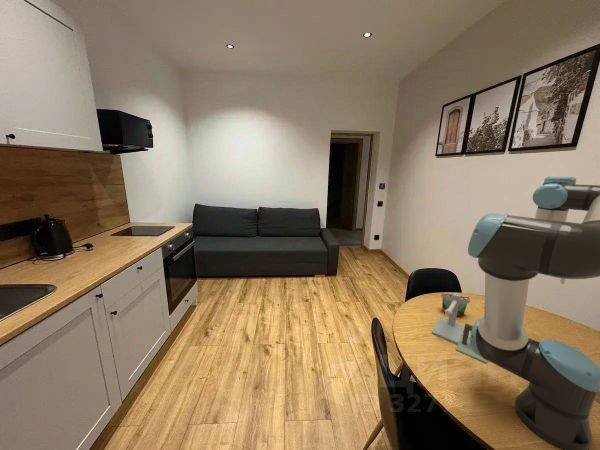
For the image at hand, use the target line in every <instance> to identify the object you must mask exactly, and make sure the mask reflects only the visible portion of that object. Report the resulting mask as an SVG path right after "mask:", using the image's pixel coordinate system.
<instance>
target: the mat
mask: <svg viewBox="0 0 600 450" xmlns="http://www.w3.org/2000/svg"><path fill="white" fill-rule="evenodd" d="M470 337H471V336H468V341H467V345H464V344H462V339H463V334H462V336H461V338H460V341H459V343H458V345H457V344H456V348H455V351H457V352H459V353H461V354H463V355H465V356H468V357H470V358H473V359H475V360H477V361H479V362H482V363H484V364H486V365H487V364H488V361H487V360H485V359H484V358H482V357H481V356H479V355H477V354H476V353H475V352H473V350H472V348H471V345H470Z"/></svg>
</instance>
